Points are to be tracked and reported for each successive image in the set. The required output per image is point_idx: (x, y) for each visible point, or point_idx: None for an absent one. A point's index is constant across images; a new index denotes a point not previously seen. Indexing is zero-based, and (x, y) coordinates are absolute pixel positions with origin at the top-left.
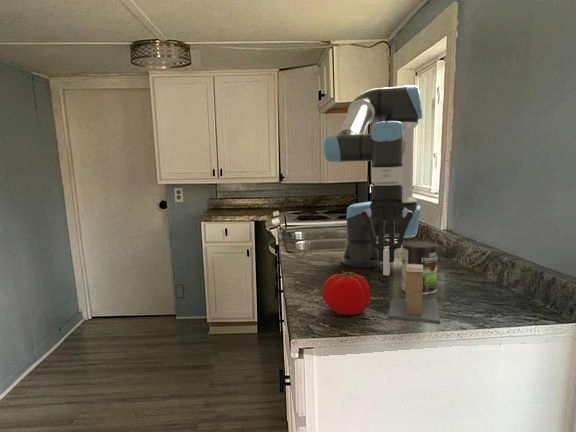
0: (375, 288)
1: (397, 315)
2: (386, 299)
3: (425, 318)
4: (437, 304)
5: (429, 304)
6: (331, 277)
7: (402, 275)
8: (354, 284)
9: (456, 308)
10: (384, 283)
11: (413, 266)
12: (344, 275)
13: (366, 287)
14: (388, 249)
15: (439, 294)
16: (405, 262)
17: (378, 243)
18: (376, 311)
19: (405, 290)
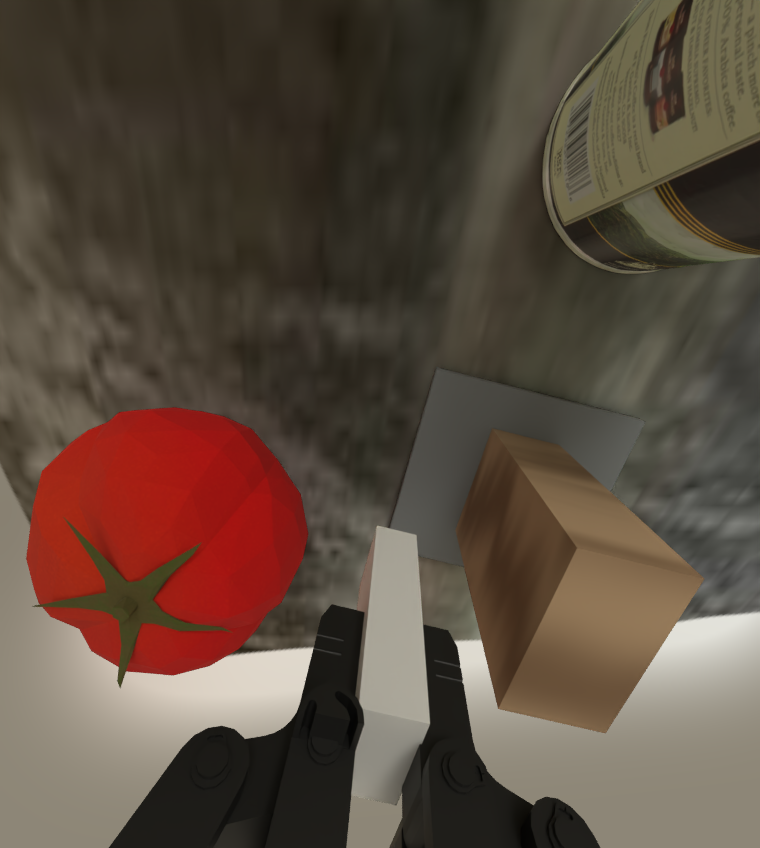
0: (376, 151)
1: (418, 549)
2: (411, 347)
3: None
4: (630, 444)
5: (593, 444)
6: (40, 598)
7: (585, 125)
8: (193, 669)
9: (700, 458)
10: (454, 21)
11: (598, 618)
12: (109, 612)
13: (267, 611)
14: (401, 754)
15: (727, 265)
16: (669, 133)
17: (254, 844)
18: (346, 486)
19: (550, 213)
